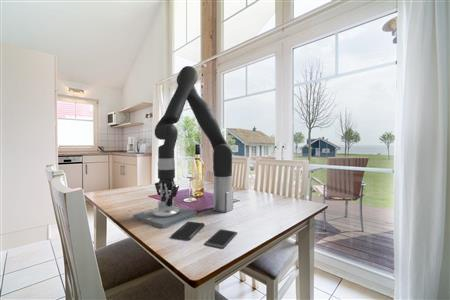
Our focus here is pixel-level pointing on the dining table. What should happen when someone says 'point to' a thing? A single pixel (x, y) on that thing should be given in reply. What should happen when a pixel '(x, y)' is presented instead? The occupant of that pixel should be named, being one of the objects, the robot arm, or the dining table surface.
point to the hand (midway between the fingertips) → (166, 205)
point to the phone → (188, 231)
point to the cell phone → (220, 239)
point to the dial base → (165, 218)
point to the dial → (164, 210)
